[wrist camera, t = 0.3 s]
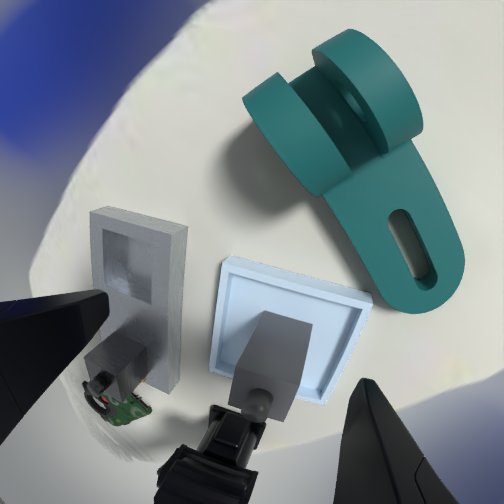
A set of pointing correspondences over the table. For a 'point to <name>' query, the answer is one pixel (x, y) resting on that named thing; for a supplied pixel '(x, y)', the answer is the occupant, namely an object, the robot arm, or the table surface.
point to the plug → (270, 368)
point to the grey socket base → (136, 301)
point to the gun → (118, 407)
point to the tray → (294, 306)
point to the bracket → (364, 162)
